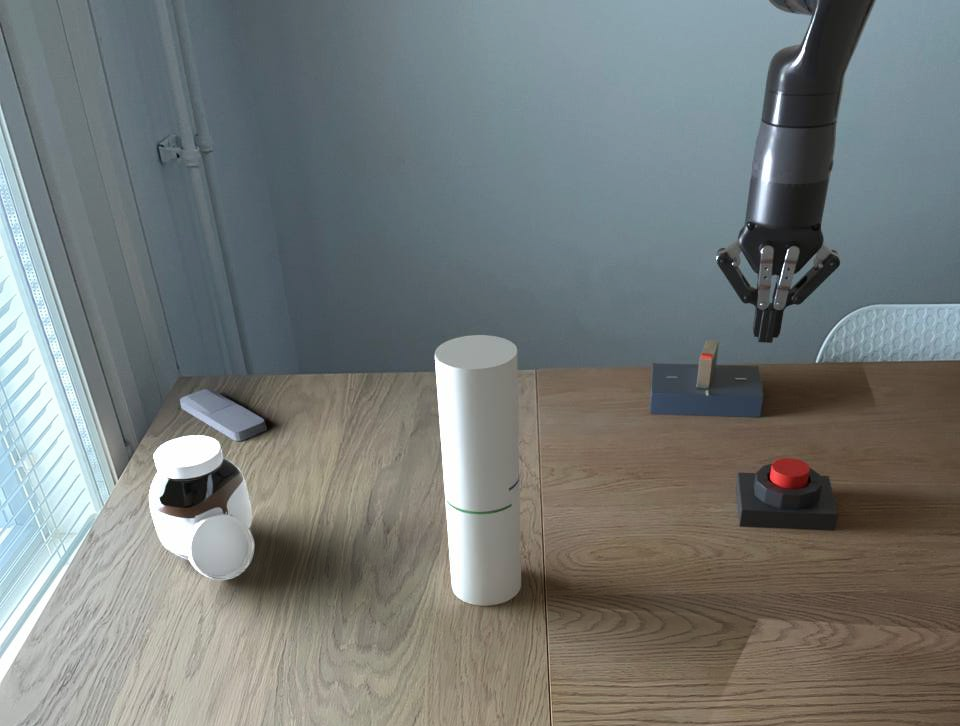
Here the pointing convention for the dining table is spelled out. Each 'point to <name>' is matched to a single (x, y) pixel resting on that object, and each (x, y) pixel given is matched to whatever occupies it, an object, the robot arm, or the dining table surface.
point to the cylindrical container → (481, 465)
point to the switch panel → (706, 391)
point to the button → (789, 473)
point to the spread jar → (202, 507)
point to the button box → (785, 502)
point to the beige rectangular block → (707, 364)
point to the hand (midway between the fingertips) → (764, 339)
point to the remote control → (223, 414)
